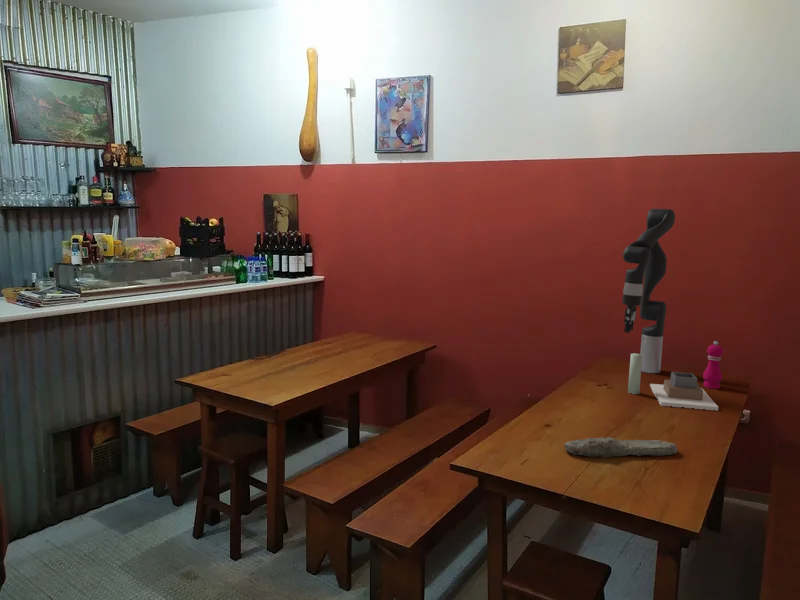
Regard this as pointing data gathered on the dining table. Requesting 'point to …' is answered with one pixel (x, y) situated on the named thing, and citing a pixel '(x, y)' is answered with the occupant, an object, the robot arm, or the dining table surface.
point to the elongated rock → (619, 447)
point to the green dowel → (635, 373)
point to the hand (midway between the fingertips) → (628, 331)
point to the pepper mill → (713, 367)
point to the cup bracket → (683, 392)
